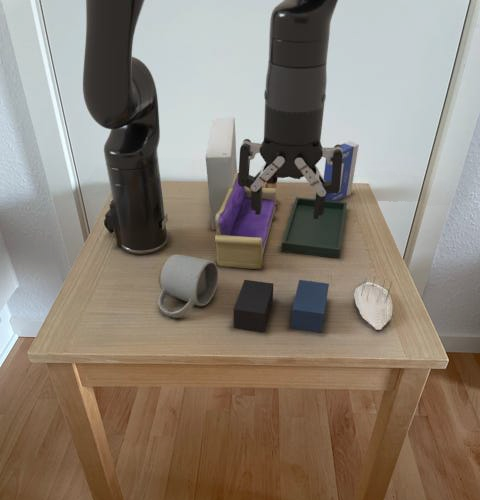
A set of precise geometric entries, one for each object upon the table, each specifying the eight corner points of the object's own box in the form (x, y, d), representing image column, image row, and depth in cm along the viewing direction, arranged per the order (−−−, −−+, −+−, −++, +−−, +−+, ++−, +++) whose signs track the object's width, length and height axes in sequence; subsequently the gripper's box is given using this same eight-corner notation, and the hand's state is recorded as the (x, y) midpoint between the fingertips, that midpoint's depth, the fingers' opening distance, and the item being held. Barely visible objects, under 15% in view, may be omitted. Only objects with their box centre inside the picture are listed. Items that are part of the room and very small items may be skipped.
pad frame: (338, 258, 94) (340, 249, 93) (281, 251, 96) (281, 242, 95) (345, 210, 109) (346, 202, 107) (295, 205, 110) (296, 196, 109)
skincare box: (215, 184, 118) (212, 116, 108) (237, 184, 118) (237, 116, 108) (208, 230, 102) (205, 155, 92) (234, 230, 102) (234, 156, 92)
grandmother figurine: (261, 198, 113) (263, 144, 104) (278, 198, 113) (281, 144, 104) (261, 215, 107) (262, 159, 99) (278, 215, 107) (282, 159, 99)
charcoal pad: (263, 332, 79) (264, 313, 76) (233, 327, 80) (233, 309, 77) (272, 301, 85) (273, 283, 82) (244, 297, 85) (244, 279, 83)
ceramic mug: (180, 277, 90) (176, 242, 85) (219, 289, 87) (218, 253, 82) (147, 312, 83) (141, 276, 78) (190, 326, 80) (186, 289, 75)
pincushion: (396, 332, 79) (404, 305, 75) (358, 331, 79) (364, 304, 75) (383, 287, 88) (390, 260, 84) (349, 286, 88) (354, 260, 84)
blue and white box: (330, 204, 111) (337, 152, 103) (320, 200, 112) (326, 148, 104) (351, 193, 115) (360, 142, 107) (342, 189, 116) (349, 139, 108)
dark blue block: (321, 332, 79) (324, 313, 76) (290, 328, 80) (292, 309, 77) (326, 302, 85) (329, 283, 82) (297, 298, 85) (299, 279, 83)
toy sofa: (261, 272, 91) (262, 223, 84) (215, 267, 92) (213, 219, 85) (276, 216, 106) (278, 171, 100) (236, 213, 108) (236, 168, 101)
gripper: (351, 93, 64) (335, 205, 75) (243, 88, 66) (243, 198, 77) (352, 112, 59) (334, 231, 69) (234, 106, 60) (235, 223, 71)
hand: (286, 214), depth 73 cm, fingers open, 8 cm apart
